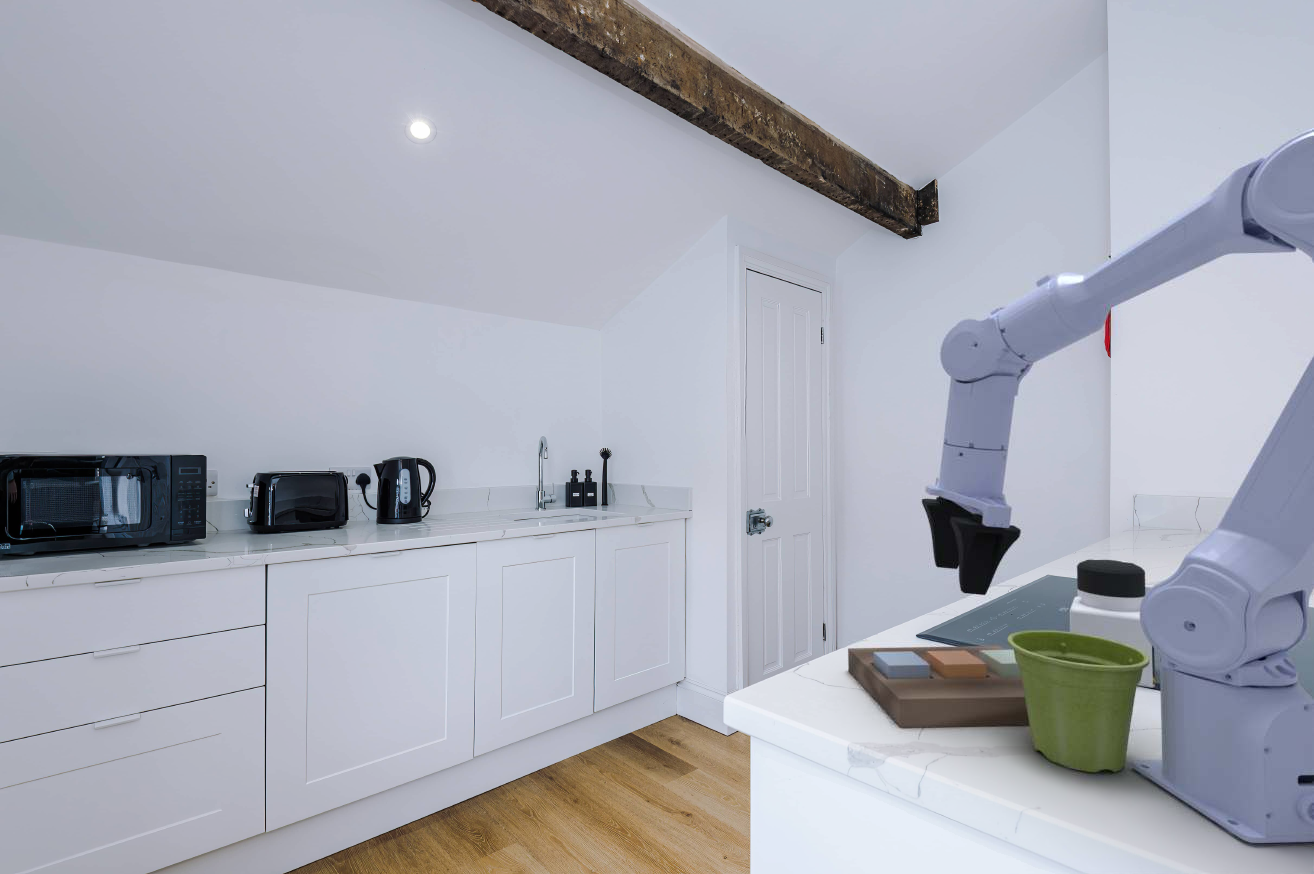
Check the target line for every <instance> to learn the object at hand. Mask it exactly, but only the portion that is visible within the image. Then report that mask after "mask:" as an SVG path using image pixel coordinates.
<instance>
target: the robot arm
mask: <svg viewBox="0 0 1314 874" xmlns="http://www.w3.org/2000/svg"><path fill="white" fill-rule="evenodd" d="M1297 249H1298V250H1300V251H1301V252H1303V253H1304V254H1306V255H1307V256H1308V257H1310V258H1311V260H1312V263H1314V128H1310V129H1308V130H1306V131H1303V132H1302V133H1299V134H1298V135H1296V136H1293V137H1291V138H1289V140H1287V141H1285V142H1284V143H1282V144H1281V145H1280V146H1278V147H1277V148H1276V149H1275V150H1273V151H1272V152H1270V154H1269V155H1267V157H1266V158H1265V157H1259V158H1256V159H1255V160H1253V161H1250V162H1248V163H1246V164H1244V165H1241V166H1240V167H1238V168H1237V169H1235V170H1234V171H1232V173H1231V174H1230V175H1229V176H1228V177H1227V178H1225V180H1224V181H1222V182H1221V183H1220V184H1219V185H1218V186H1216V188H1215V189H1213V191H1211V192H1210V193H1209V194H1208V195H1207V196H1205V197H1203V198H1202V199H1201V200H1199V201H1197V202H1196V203H1195V204H1194V203H1193V205H1191V206H1190V207H1188V208H1186V209H1185V210H1183V211H1182V212H1181V213H1179V214H1178V215H1176V216H1174V217H1173V218H1171V219H1170V220H1168V221H1166V222H1165V223H1163V224H1162V225H1161V226H1159V227H1157V228H1156V229H1154V230H1153V231H1151V232H1150V233H1148V234H1147V235H1145V236H1144V237H1141V238H1140V239H1139V240H1137V241H1136V242H1135V243H1133V244H1131V245H1129V246H1128V247H1127V248H1125V249H1123V250H1122V251H1121V252H1119V253H1117V254H1116V255H1114V256H1113V257H1111V258H1109V259H1108V260H1107V261H1104V262H1103V263H1102V264H1100V265H1099V266H1097V267H1096V268H1094V269H1093V270H1091V271H1090V272H1088V273H1086V274H1084V275H1083V274H1080V273H1076V272H1069V271H1067V272H1061V273H1060V274H1058V275H1055V274H1046V275H1044V276H1042V277H1041V278H1039V279H1037V280H1036V282H1035V284H1036V285H1037V287H1036V288H1034V289H1033V290H1031V291H1029V292H1028V293H1026V294H1025V295H1023V296H1021V297H1020V298H1018V299H1016V300H1015V301H1012V303H1010V304H1008V305H1006V306H1005V307H1004V306H998V307H996V308H995V309H993V310H991V311H990V316H988V317H987V318H985V319H978V318H966V319H965V318H964V319H962V320H960V321H958V322H957V323H956V325H955V326H954V327H952V328H951V329H949V331H948V332H947V334H946V335H945V337H944V338H943V340H942V343H941V347H940V362H941V365H942V368H943V370H944V371H945V372H946V374H947V376H949V377H950V381H949V382H950V383H949V391H948V400H947V401H948V402H947V407H946V408H947V409H946V417H945V426H944V434H943V444H942V452H941V461H940V462H941V463H940V472H939V476H936V477H935V484H934V485H930V484H927V485H926V486H925V492H926V493H927V494H928V495H930V496H936V497H935V498H922V499H921V504H922V507H923V509H924V511H925V515H926V517H927V519H928V524H929V528H930V533H931V540H932V550H933V559H934V565H935V566H936V567H937V568H939V569H940V568H942V569H950V570H958V581H959V587H960V588H959V589H960V591H961V592H962V593H963V594H968V595H977V596H978V595H979V596H980V595H981V596H986V595H987V593H988V590H989V588H990V586H991V584H992V581H993V579H994V577H995V574H996V572H997V570H998V567H999V566H1000V563H1001V562H1002V560H1003V558H1004V556H1005V555H1006V553H1007V552H1008V550H1009V549H1010V548H1011V547H1012V546H1013V544H1014V543H1016V541H1017V540H1018V539H1019V538H1020V536H1021V532H1022V531H1021V529H1020V527H1017V526H1016V525H1012V524H1011V517H1012V509H1013V507H1012V506H1010V505H1009V504H1007V500H1006V495H1005V493H1003V491H1004V485H1005V476H1006V469H1007V460H1008V453H1009V443H1010V436H1011V429H1012V420H1013V413H1014V405H1015V397H1016V396H1018V395H1019V387H1020V383H1021V382H1022V380H1023V379H1024V378H1025V377H1026V376H1027V374H1028V373H1029V372H1030V370H1031V369H1032V367H1033V365H1034V364H1035V363H1036V362H1038V361H1040V360H1044V358H1046V357H1048V356H1050V355H1053V354H1055V353H1056V352H1058V351H1060V350H1063V349H1064V348H1067V347H1069V346H1070V345H1072V344H1075V343H1077V342H1078V341H1080V340H1083V339H1085V338H1086V337H1088V336H1090V335H1093V334H1095V333H1097V332H1098V331H1100V330H1102V328H1103V327H1104V326H1105V324H1106V321H1107V319H1108V315H1109V313H1110V311H1111V309H1112V308H1114V307H1116V306H1118V305H1120V304H1122V303H1125V302H1127V301H1129V300H1131V299H1133V298H1136V297H1138V296H1140V295H1141V294H1144V293H1146V292H1147V291H1151V290H1153V289H1155V288H1157V287H1159V286H1161V285H1164V284H1165V283H1167V282H1170V281H1171V280H1174V279H1176V278H1179V277H1180V276H1183V275H1185V274H1187V273H1189V272H1191V271H1193V270H1196V269H1198V268H1199V267H1201V266H1204V265H1206V264H1208V263H1210V262H1212V261H1215V260H1217V259H1219V258H1221V257H1223V256H1227V255H1230V254H1233V255H1234V254H1269V253H1270V254H1272V253H1273V254H1275V253H1276V254H1277V253H1279V254H1280V253H1295V252H1296V251H1297ZM1313 590H1314V355H1313V356H1312V358H1311V360H1310V361H1309V364H1308V365H1307V367H1306V368H1305V370H1304V372H1303V374H1302V376H1301V378H1300V379H1299V381H1298V383H1297V385H1296V386H1295V389H1293V392H1292V393H1291V395H1290V397H1289V399H1288V401H1287V402H1286V404H1285V406H1284V408H1283V410H1282V412H1281V413H1280V415H1279V417H1278V418H1277V420H1276V422H1275V423H1274V425H1273V427H1272V429H1271V431H1270V432H1269V434H1268V437H1267V438H1266V440H1265V442H1264V443H1263V445H1262V446H1261V448H1260V451H1259V452H1258V454H1257V456H1256V458H1255V459H1254V461H1253V463H1252V465H1251V466H1250V468H1249V470H1248V472H1247V474H1246V475H1245V477H1244V479H1243V481H1242V483H1241V485H1240V486H1239V488H1238V490H1237V492H1236V493H1235V495H1234V497H1233V498H1232V500H1231V502H1230V504H1229V506H1228V507H1227V509H1226V511H1225V513H1224V514H1223V516H1222V519H1221V520H1220V522H1219V524H1218V526H1217V527H1216V528H1215V529H1214V530H1213V531H1212V532H1211V533H1209V535H1207V537H1205V538H1204V539H1203V540H1202V541H1201V542H1199V543H1198V544H1197V545H1196V546H1195V547H1193V549H1192V550H1190V551H1189V552H1188V553H1187V554H1186V555H1185V557H1184V558H1183V560H1182V561H1181V563H1180V565H1179V567H1178V568H1177V570H1176V571H1175V572H1174V573H1173V574H1172V575H1171V576H1169V577H1168V578H1167V579H1164V580H1161V582H1158V583H1157V584H1155V585H1154V586H1152V587H1151V588H1150V589H1149V590H1148V591H1147V592H1145V593H1146V594H1145V596H1144V598H1143V600H1142V602H1141V606H1140V622H1141V626H1142V629H1143V631H1144V634H1145V636H1146V638H1147V639H1148V641H1149V642H1150V644H1151V645H1152V646H1153V647H1154V651H1156V652H1157V653H1159V679H1160V680H1159V682H1160V716H1161V717H1160V720H1161V723H1160V724H1161V725H1160V727H1161V757H1162V759H1135V760H1134V759H1133V760H1131V768H1133V769H1134V770H1135V771H1137V772H1139V773H1140V774H1141V775H1143V776H1144V777H1146V778H1147V779H1149V780H1151V781H1152V782H1154V783H1155V784H1157V785H1158V786H1160V787H1162V788H1163V789H1164V790H1165V791H1168V792H1169V793H1171V794H1172V795H1174V796H1175V797H1177V798H1179V800H1182V801H1183V802H1185V803H1186V804H1188V805H1189V806H1191V807H1192V808H1193V809H1195V810H1197V811H1198V812H1199V813H1201V814H1202V815H1204V816H1206V817H1207V818H1209V819H1210V820H1212V821H1214V822H1215V823H1217V824H1218V825H1219V826H1221V827H1223V828H1224V829H1225V830H1227V831H1228V832H1230V833H1232V834H1233V835H1235V836H1236V837H1238V838H1240V839H1241V840H1243V841H1244V842H1248V843H1250V844H1252V843H1253V844H1271V843H1276V844H1277V843H1280V844H1281V843H1312V842H1314V698H1313V697H1312V696H1311V695H1310V694H1308V693H1307V692H1306V691H1305V689H1304V688H1303V687H1302V686H1301V684H1300V683H1299V681H1298V680H1299V671H1298V669H1297V668H1296V665H1295V663H1294V661H1293V659H1292V658H1291V656H1290V651H1291V650H1292V649H1295V648H1296V647H1297V646H1299V645H1300V644H1301V643H1302V642H1303V641H1304V640H1305V638H1306V636H1307V635H1308V633H1309V631H1310V628H1311V627H1310V626H1311V615H1310V614H1311V613H1310V607H1309V606H1310V603H1309V602H1310V598H1311V594H1312V592H1313Z"/></svg>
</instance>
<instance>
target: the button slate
mask: <svg viewBox="0 0 1314 874" xmlns="http://www.w3.org/2000/svg"><path fill="white" fill-rule="evenodd" d="M874 667H875V668H876V669H877V670H878V671H879V672H880V673H881V674H882V675H883V676H884V677H885V678H886V679H930V665H929V664H928V663H927V662H925V661H924V660H923V659H921V658H920V657H919V656H918V655H916V654H915V653H914V652H912V651H905V652H874Z"/></svg>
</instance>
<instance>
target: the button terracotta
mask: <svg viewBox="0 0 1314 874" xmlns="http://www.w3.org/2000/svg"><path fill="white" fill-rule="evenodd" d="M927 663H928V664H929V665H930V668H931V669H932V670H934V671H935V672H936V673H938V674H939V675H940V676H942V677H943V678H987V675H986V663H984V662H982V661H981V660H979V659H978V658H976V657H975V656H973V655H971V654H970V653H968V652H967V651H927Z"/></svg>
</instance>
